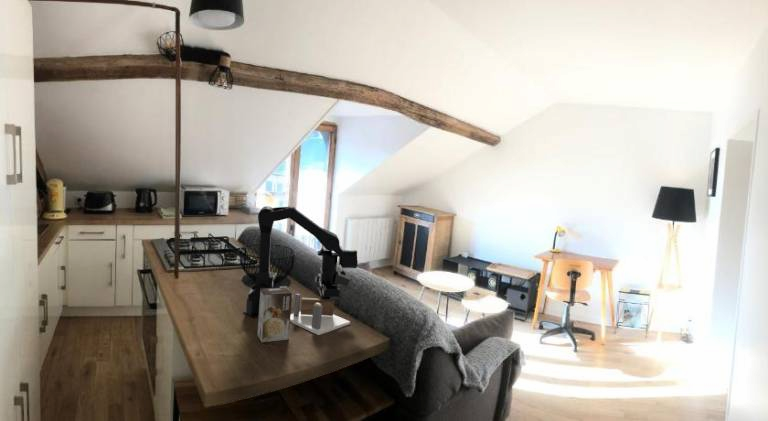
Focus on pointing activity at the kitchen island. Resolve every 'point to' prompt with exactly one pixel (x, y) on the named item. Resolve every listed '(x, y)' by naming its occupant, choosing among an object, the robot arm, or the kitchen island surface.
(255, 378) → the kitchen island surface
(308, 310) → the gate
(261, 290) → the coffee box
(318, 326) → the gate frame
